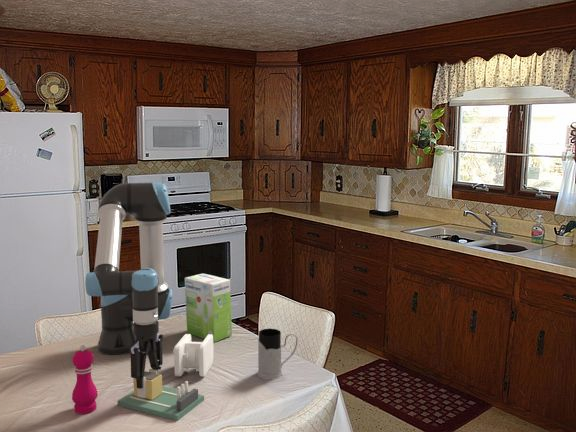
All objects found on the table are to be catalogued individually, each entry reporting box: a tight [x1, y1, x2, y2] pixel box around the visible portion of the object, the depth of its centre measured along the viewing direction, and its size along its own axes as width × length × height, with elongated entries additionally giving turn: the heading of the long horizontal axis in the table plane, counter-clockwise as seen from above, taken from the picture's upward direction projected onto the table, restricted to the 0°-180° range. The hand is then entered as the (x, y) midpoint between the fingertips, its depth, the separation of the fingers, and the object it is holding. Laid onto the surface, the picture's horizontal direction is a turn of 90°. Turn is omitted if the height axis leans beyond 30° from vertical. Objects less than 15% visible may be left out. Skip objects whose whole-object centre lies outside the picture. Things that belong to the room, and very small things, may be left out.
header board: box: [117, 380, 205, 422], centre depth 170 cm, size 22×14×8 cm, turn 66°
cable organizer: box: [172, 333, 214, 378], centre depth 193 cm, size 15×11×12 cm
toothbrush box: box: [184, 273, 233, 343], centre depth 228 cm, size 18×10×24 cm, turn 49°
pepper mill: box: [71, 345, 98, 415], centre depth 165 cm, size 7×7×20 cm
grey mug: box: [256, 328, 298, 380], centre depth 192 cm, size 9×14×15 cm, turn 104°
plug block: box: [132, 370, 163, 400], centre depth 172 cm, size 7×5×6 cm
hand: (148, 393), depth 172 cm, fingers closed on plug block, 5 cm apart
